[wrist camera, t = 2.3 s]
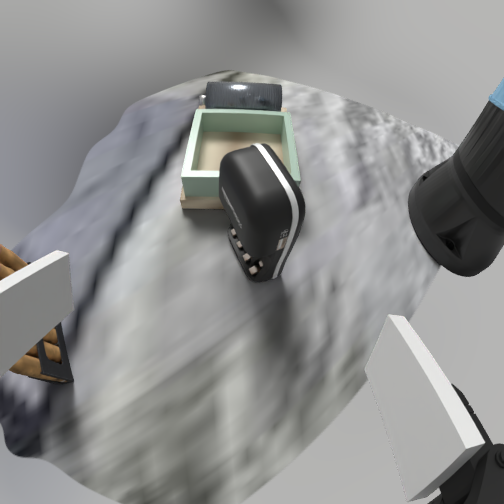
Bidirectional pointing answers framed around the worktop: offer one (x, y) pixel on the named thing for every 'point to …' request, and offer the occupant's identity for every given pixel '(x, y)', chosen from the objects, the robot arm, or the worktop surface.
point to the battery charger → (260, 209)
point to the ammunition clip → (48, 348)
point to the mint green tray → (233, 136)
